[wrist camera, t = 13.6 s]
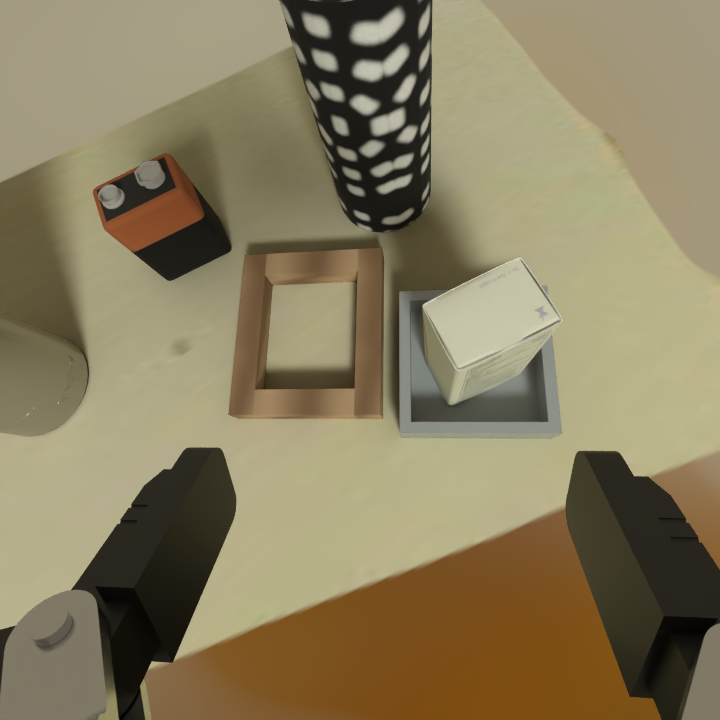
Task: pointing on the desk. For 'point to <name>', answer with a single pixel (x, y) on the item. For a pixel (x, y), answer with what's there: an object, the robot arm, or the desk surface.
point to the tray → (482, 412)
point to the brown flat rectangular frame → (254, 333)
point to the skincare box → (486, 330)
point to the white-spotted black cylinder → (370, 101)
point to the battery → (161, 218)
